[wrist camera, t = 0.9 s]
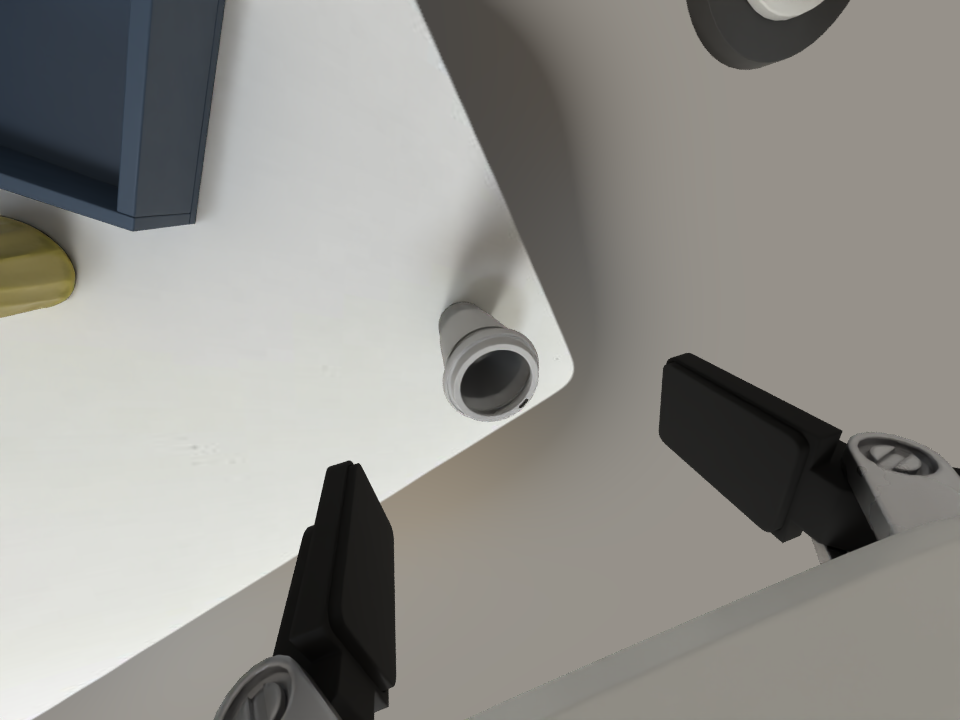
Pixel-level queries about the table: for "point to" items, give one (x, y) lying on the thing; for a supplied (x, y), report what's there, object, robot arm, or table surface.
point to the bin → (108, 105)
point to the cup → (485, 364)
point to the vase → (31, 269)
